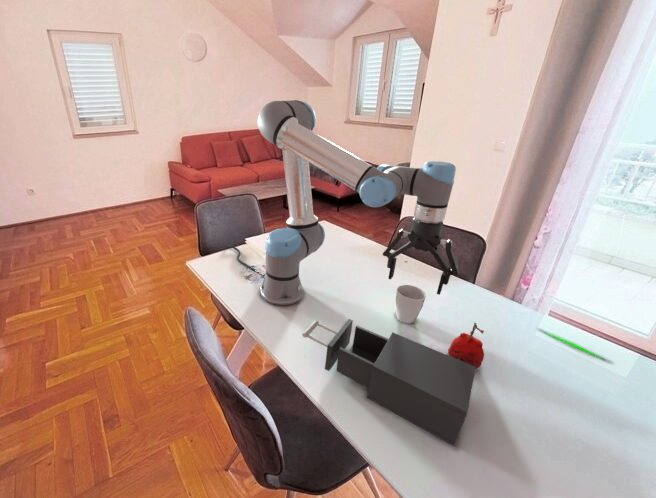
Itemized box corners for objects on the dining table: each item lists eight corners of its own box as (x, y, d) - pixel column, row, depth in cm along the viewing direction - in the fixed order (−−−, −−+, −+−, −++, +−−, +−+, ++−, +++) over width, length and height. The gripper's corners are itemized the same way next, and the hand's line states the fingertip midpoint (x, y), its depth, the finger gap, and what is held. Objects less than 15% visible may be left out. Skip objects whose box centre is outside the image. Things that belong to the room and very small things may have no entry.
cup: (422, 328, 96) (429, 301, 92) (394, 324, 97) (400, 298, 93) (415, 311, 103) (421, 286, 99) (389, 308, 104) (394, 283, 100)
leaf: (605, 362, 84) (607, 360, 83) (540, 332, 94) (541, 330, 94) (606, 360, 84) (608, 358, 84) (541, 331, 95) (542, 329, 94)
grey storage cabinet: (366, 397, 74) (373, 366, 70) (386, 361, 84) (392, 332, 80) (454, 446, 63) (467, 412, 59) (464, 398, 73) (476, 366, 69)
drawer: (295, 353, 85) (297, 329, 82) (318, 328, 94) (320, 306, 91) (391, 405, 71) (398, 379, 67) (407, 370, 80) (413, 346, 77)
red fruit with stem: (482, 364, 83) (500, 319, 77) (474, 379, 78) (492, 332, 72) (451, 348, 88) (465, 304, 82) (441, 361, 84) (455, 316, 78)
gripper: (378, 213, 91) (368, 276, 99) (480, 234, 76) (459, 305, 85) (386, 207, 96) (376, 267, 105) (483, 225, 82) (463, 293, 90)
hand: (413, 284), depth 95 cm, fingers open, 13 cm apart
